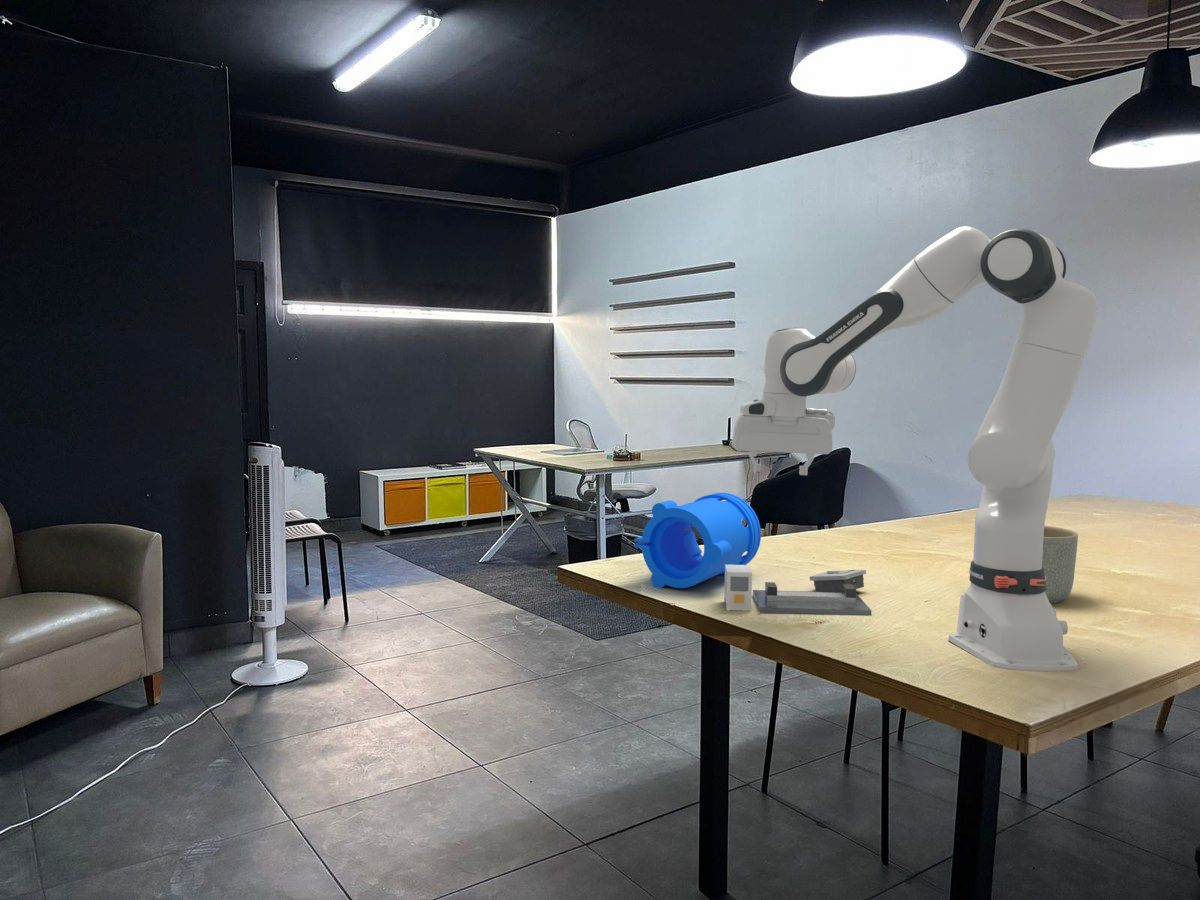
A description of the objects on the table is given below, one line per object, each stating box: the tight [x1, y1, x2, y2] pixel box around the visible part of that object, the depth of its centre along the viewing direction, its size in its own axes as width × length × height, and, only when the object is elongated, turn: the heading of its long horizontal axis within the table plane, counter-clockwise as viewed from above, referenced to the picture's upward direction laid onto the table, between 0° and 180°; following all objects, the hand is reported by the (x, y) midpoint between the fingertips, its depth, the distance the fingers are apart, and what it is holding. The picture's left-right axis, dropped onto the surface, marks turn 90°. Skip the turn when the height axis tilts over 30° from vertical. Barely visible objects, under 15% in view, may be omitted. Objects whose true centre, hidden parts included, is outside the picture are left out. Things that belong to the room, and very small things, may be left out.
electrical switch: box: [809, 569, 867, 592], centre depth 190 cm, size 9×5×9 cm
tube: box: [633, 492, 762, 589], centre depth 201 cm, size 25×22×19 cm
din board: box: [752, 581, 872, 616], centre depth 179 cm, size 14×22×4 cm, turn 86°
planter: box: [1042, 525, 1079, 605], centre depth 186 cm, size 17×17×15 cm
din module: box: [723, 564, 753, 611], centre depth 178 cm, size 8×5×8 cm, turn 176°
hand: (780, 473), depth 178 cm, fingers open, 8 cm apart
